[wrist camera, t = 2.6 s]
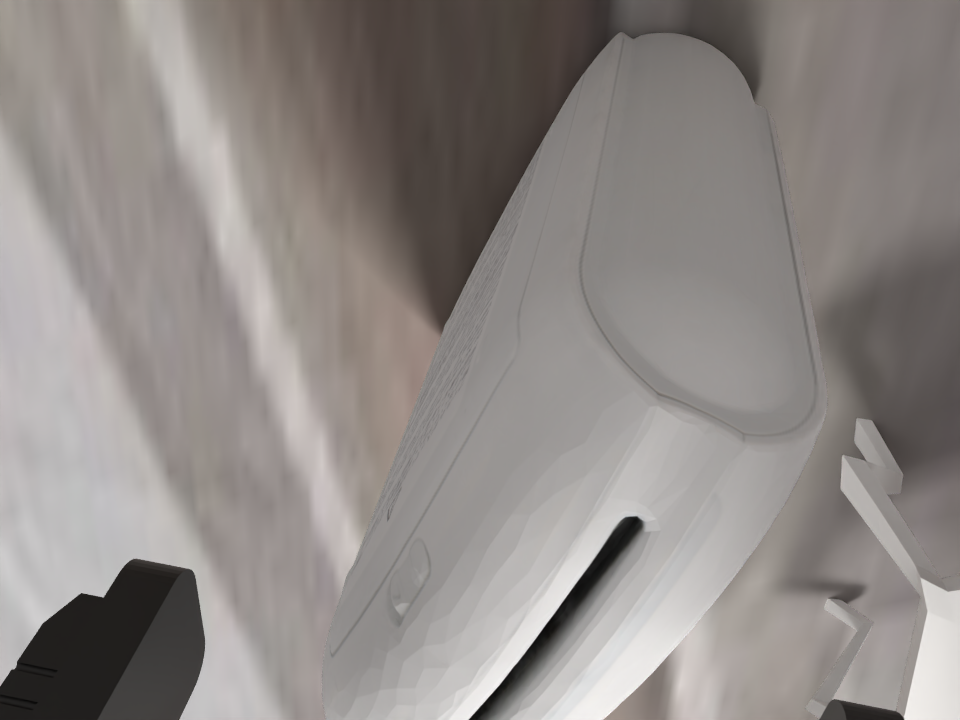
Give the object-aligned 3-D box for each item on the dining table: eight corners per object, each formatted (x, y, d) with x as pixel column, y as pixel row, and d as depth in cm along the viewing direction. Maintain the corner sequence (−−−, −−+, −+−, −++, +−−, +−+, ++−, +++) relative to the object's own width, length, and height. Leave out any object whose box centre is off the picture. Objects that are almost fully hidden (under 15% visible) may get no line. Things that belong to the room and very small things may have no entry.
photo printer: (566, 425, 24) (486, 916, 14) (422, 356, 24) (236, 814, 14) (803, 89, 18) (945, 538, 8) (615, -13, 18) (530, 335, 8)
